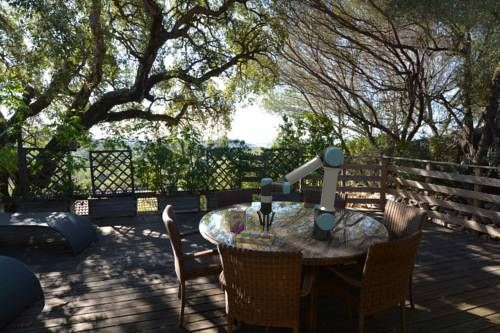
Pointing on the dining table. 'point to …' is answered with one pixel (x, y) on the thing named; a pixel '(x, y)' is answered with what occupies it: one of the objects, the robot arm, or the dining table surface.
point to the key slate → (255, 234)
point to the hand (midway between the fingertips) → (265, 235)
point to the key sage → (246, 233)
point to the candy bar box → (237, 220)
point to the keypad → (256, 239)
